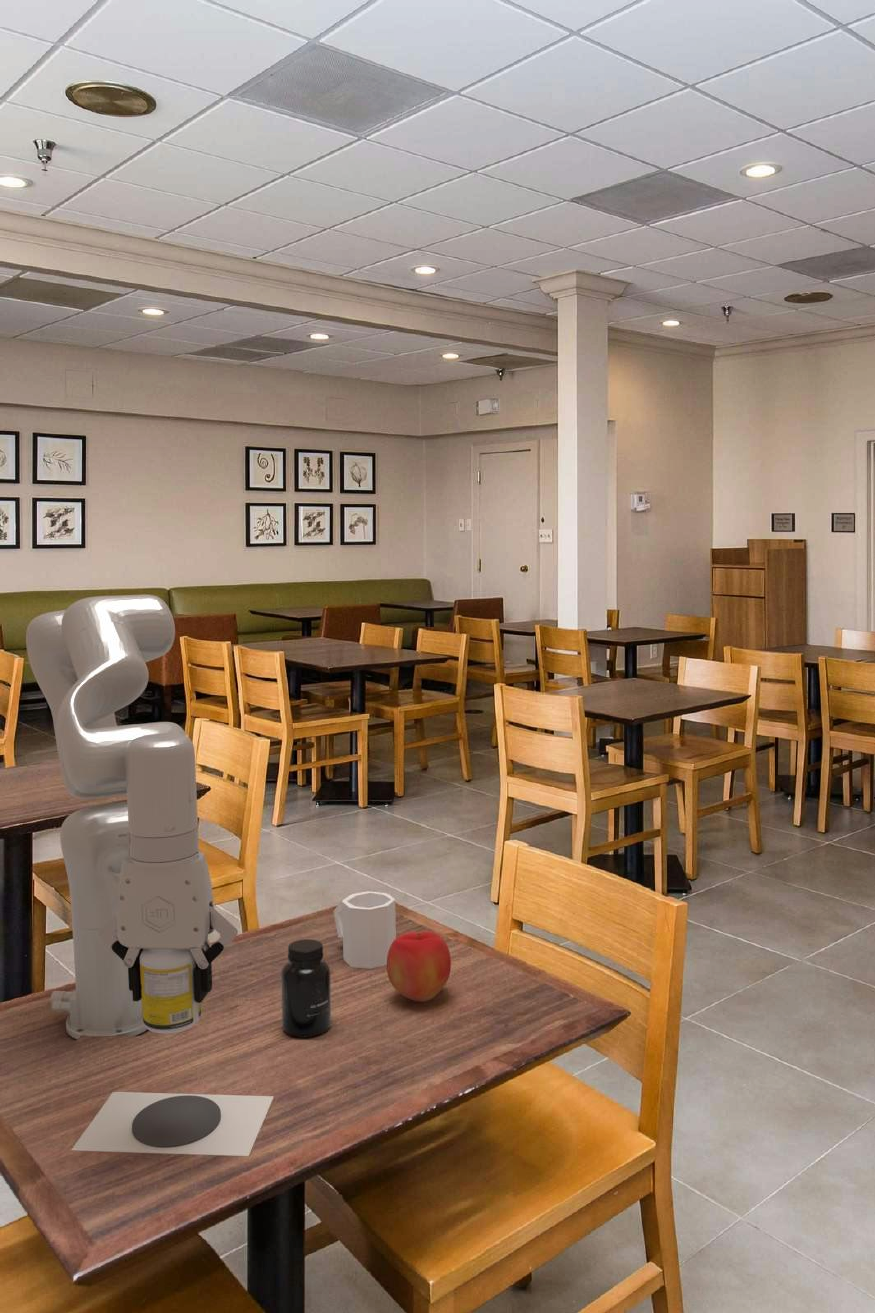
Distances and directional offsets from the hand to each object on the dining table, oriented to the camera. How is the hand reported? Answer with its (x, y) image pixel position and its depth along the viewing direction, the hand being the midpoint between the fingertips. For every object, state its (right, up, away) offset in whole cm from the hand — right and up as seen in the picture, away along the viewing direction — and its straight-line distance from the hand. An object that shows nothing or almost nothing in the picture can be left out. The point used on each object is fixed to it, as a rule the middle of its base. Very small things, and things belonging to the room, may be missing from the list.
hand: (171, 995), depth 117 cm
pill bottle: (0, -3, 0) cm, 3 cm away
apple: (+28, -12, +36) cm, 47 cm away
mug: (+18, -11, +51) cm, 55 cm away
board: (0, -16, +2) cm, 17 cm away
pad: (0, -15, +2) cm, 15 cm away
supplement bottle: (+12, -14, +27) cm, 33 cm away
